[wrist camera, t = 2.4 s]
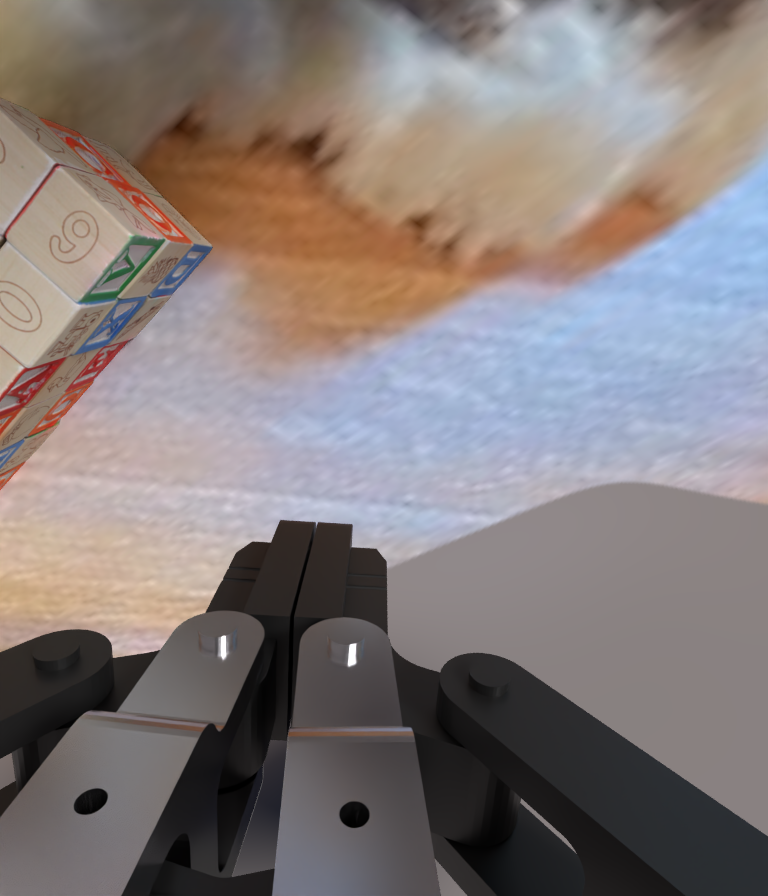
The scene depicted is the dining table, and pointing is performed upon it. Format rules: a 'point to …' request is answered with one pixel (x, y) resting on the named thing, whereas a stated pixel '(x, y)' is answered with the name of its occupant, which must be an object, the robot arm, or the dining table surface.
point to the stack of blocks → (73, 270)
